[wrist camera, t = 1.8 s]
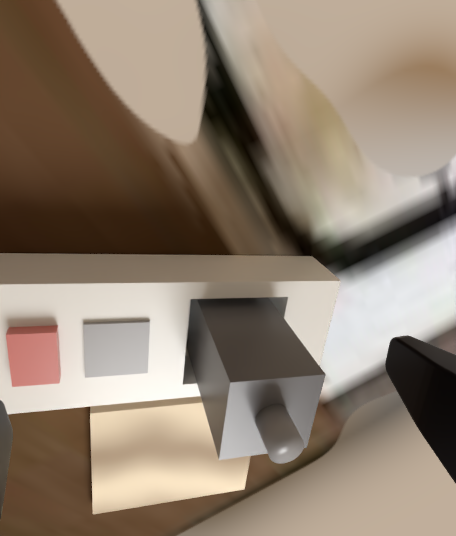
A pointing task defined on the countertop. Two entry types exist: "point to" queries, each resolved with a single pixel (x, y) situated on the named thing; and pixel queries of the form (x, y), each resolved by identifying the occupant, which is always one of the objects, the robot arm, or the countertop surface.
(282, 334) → the block
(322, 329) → the power strip
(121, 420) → the beige pad
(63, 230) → the countertop surface
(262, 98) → the countertop surface
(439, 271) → the countertop surface
